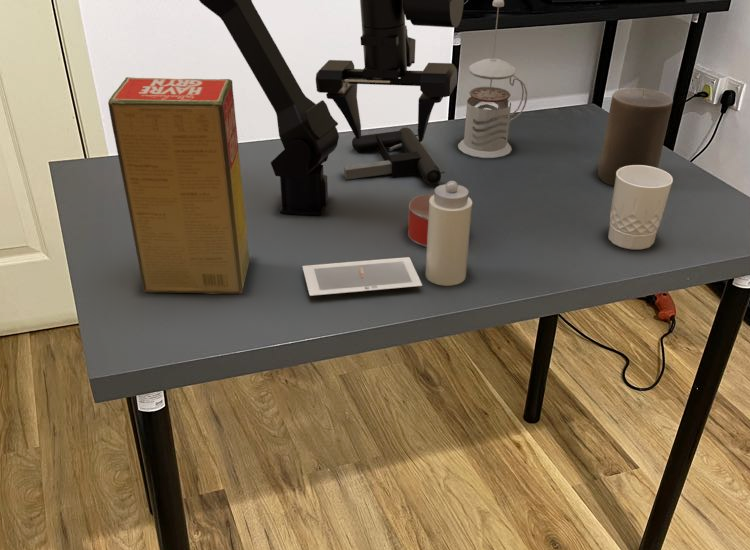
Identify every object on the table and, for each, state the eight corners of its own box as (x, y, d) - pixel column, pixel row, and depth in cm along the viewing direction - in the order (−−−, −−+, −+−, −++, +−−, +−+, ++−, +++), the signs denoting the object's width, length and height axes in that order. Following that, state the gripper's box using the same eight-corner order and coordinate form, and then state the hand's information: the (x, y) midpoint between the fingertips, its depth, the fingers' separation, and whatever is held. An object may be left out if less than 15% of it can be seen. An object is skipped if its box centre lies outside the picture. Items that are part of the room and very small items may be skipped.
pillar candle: (630, 194, 136) (650, 102, 127) (585, 174, 142) (601, 85, 133) (667, 180, 141) (688, 90, 132) (621, 161, 147) (639, 74, 138)
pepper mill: (424, 284, 112) (429, 189, 104) (425, 264, 116) (430, 171, 108) (466, 287, 112) (474, 191, 103) (465, 266, 116) (473, 173, 108)
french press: (451, 139, 154) (461, -9, 138) (510, 135, 156) (526, -11, 140) (467, 159, 146) (479, 6, 130) (529, 155, 148) (548, 4, 133)
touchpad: (302, 272, 114) (301, 258, 112) (409, 264, 116) (409, 250, 115) (310, 302, 108) (309, 288, 106) (422, 292, 110) (422, 278, 109)
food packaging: (251, 259, 116) (234, 76, 101) (243, 294, 109) (223, 103, 93) (155, 258, 116) (123, 74, 100) (141, 293, 108) (103, 101, 93)
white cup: (627, 256, 120) (641, 191, 113) (592, 233, 125) (604, 170, 119) (668, 245, 123) (685, 181, 116) (633, 223, 128) (647, 161, 122)
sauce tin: (406, 247, 120) (407, 217, 117) (409, 220, 127) (410, 192, 124) (465, 249, 120) (467, 220, 117) (464, 223, 127) (467, 195, 124)
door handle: (352, 180, 132) (449, 166, 135) (329, 134, 147) (417, 123, 150) (353, 199, 134) (449, 185, 137) (331, 152, 149) (417, 141, 152)
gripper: (464, 7, 113) (464, 121, 123) (334, 6, 117) (344, 116, 127) (448, 31, 104) (449, 151, 114) (308, 28, 109) (321, 144, 118)
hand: (389, 139), depth 119 cm, fingers open, 9 cm apart
